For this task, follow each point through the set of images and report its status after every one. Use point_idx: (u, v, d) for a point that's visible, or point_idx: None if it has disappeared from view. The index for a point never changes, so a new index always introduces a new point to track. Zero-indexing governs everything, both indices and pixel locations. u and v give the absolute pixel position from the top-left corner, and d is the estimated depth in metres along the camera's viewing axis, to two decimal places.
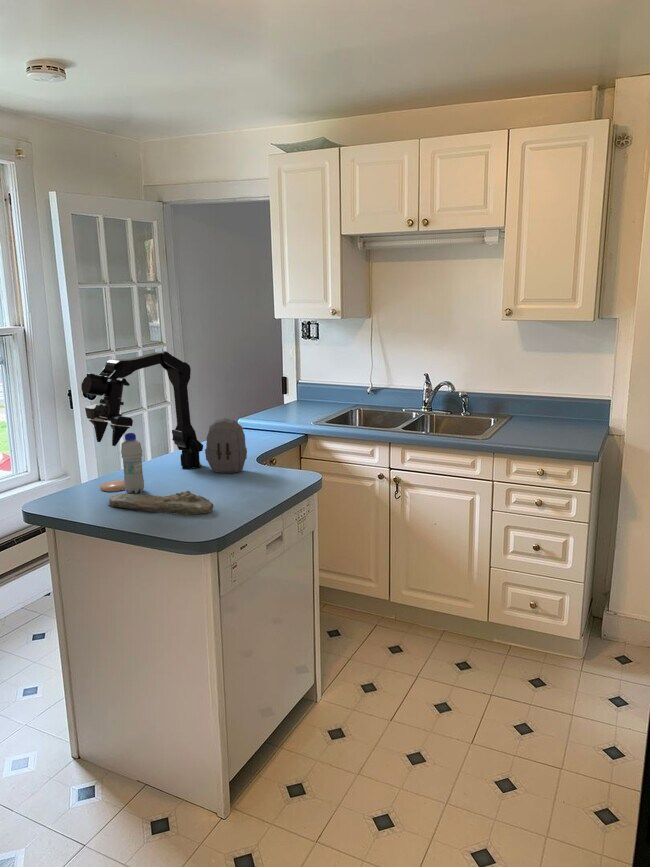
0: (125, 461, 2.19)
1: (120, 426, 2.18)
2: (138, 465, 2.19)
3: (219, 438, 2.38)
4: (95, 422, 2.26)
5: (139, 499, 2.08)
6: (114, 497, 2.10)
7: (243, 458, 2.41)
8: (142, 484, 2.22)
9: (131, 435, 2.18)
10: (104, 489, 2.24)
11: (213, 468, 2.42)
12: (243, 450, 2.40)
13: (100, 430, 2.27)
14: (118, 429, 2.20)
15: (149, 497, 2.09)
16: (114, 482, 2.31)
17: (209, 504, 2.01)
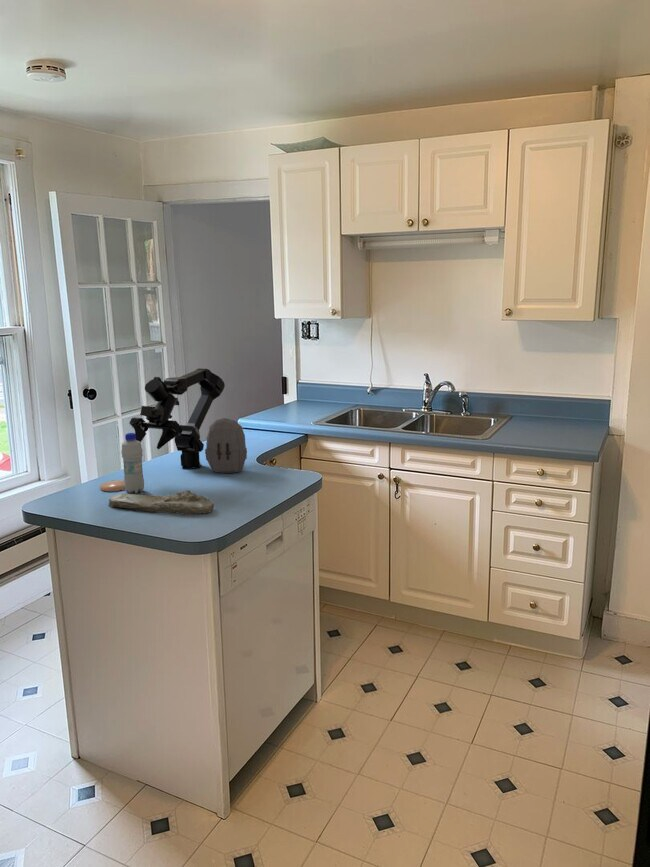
0: (125, 461, 2.19)
1: (172, 430, 2.27)
2: (138, 465, 2.19)
3: (219, 438, 2.38)
4: (138, 427, 2.31)
5: (139, 499, 2.08)
6: (114, 497, 2.10)
7: (243, 458, 2.41)
8: (142, 484, 2.22)
9: (131, 435, 2.18)
10: (104, 489, 2.24)
11: (213, 468, 2.42)
12: (243, 450, 2.40)
13: (139, 437, 2.31)
14: (166, 434, 2.28)
15: (149, 497, 2.09)
16: (114, 482, 2.31)
17: (210, 504, 2.02)
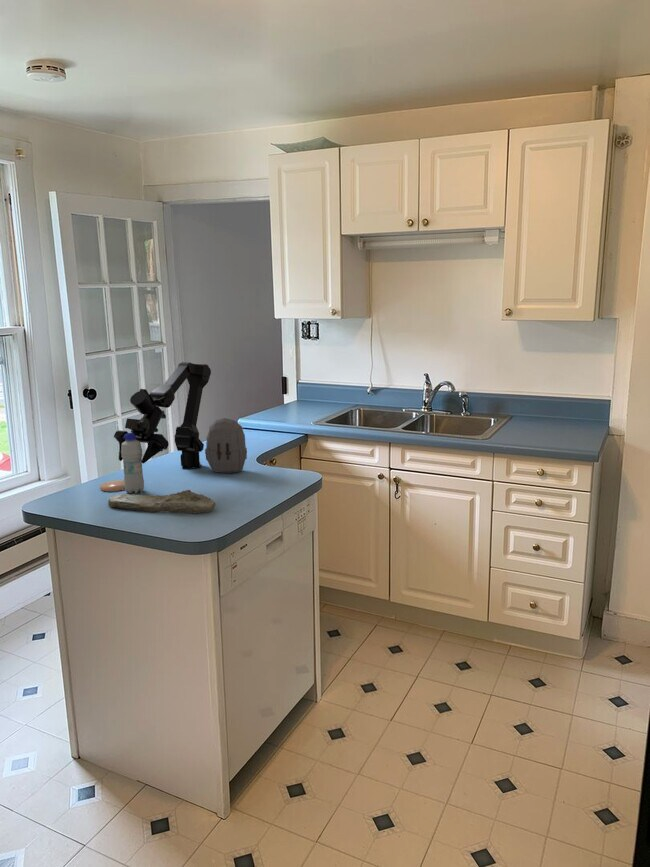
0: (125, 461, 2.19)
1: (158, 444, 2.20)
2: (138, 465, 2.19)
3: (219, 438, 2.38)
4: (123, 440, 2.24)
5: (139, 499, 2.08)
6: (113, 498, 2.09)
7: (243, 458, 2.41)
8: (142, 484, 2.22)
9: (131, 435, 2.18)
10: (104, 489, 2.24)
11: (213, 468, 2.42)
12: (243, 450, 2.40)
13: None
14: (152, 448, 2.21)
15: (149, 497, 2.09)
16: (114, 482, 2.31)
17: (211, 502, 2.03)
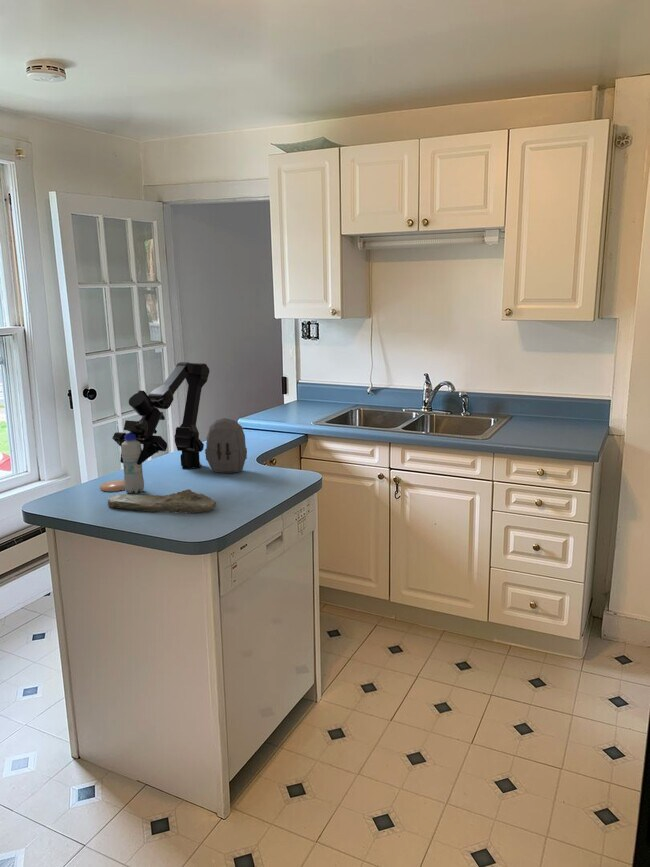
0: (125, 461, 2.19)
1: (153, 446, 2.20)
2: (138, 465, 2.19)
3: (219, 438, 2.38)
4: None
5: (139, 499, 2.08)
6: (113, 498, 2.09)
7: (243, 458, 2.41)
8: (142, 484, 2.22)
9: (131, 435, 2.18)
10: (104, 489, 2.24)
11: (213, 468, 2.42)
12: (243, 450, 2.40)
13: None
14: (147, 450, 2.21)
15: (149, 497, 2.09)
16: (114, 482, 2.31)
17: (212, 502, 2.03)
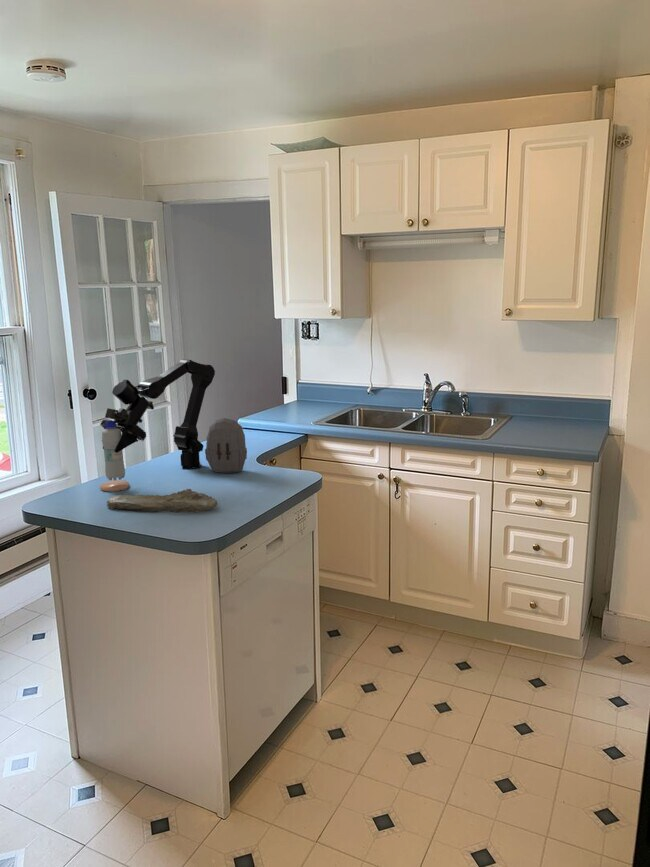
0: (104, 448, 2.23)
1: (131, 434, 2.22)
2: None
3: (219, 438, 2.38)
4: None
5: (139, 499, 2.07)
6: (112, 499, 2.08)
7: (243, 458, 2.41)
8: (121, 472, 2.25)
9: (110, 423, 2.21)
10: (104, 489, 2.24)
11: (213, 468, 2.42)
12: (243, 450, 2.40)
13: None
14: (127, 438, 2.23)
15: (149, 497, 2.09)
16: (114, 482, 2.31)
17: (214, 501, 2.04)
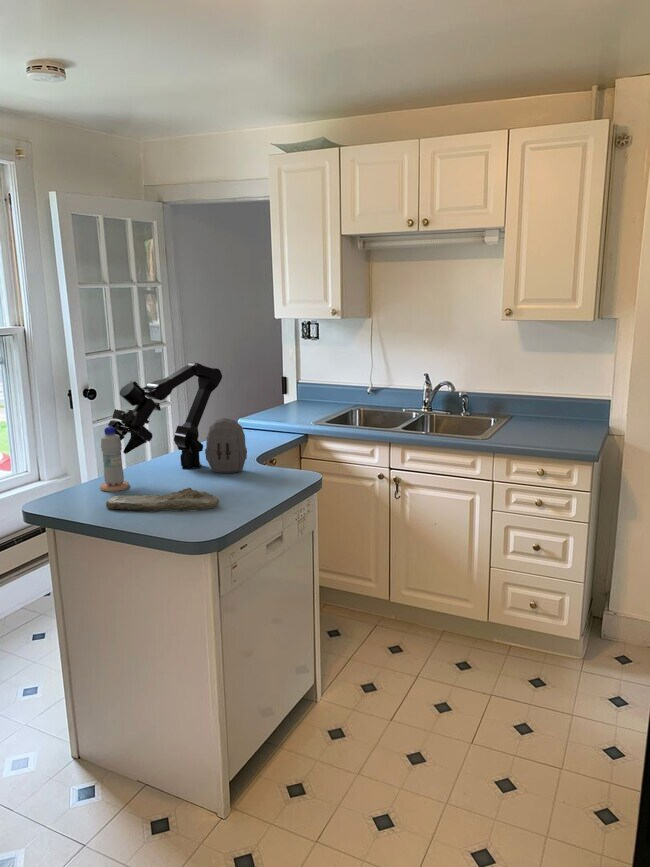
0: (103, 454, 2.24)
1: (139, 436, 2.24)
2: (115, 458, 2.24)
3: (219, 438, 2.38)
4: None
5: (139, 499, 2.07)
6: (112, 499, 2.07)
7: (243, 458, 2.41)
8: (120, 478, 2.26)
9: (109, 429, 2.23)
10: (104, 489, 2.24)
11: (213, 468, 2.42)
12: (243, 450, 2.40)
13: None
14: (135, 439, 2.26)
15: (149, 497, 2.09)
16: None
17: (215, 499, 2.06)
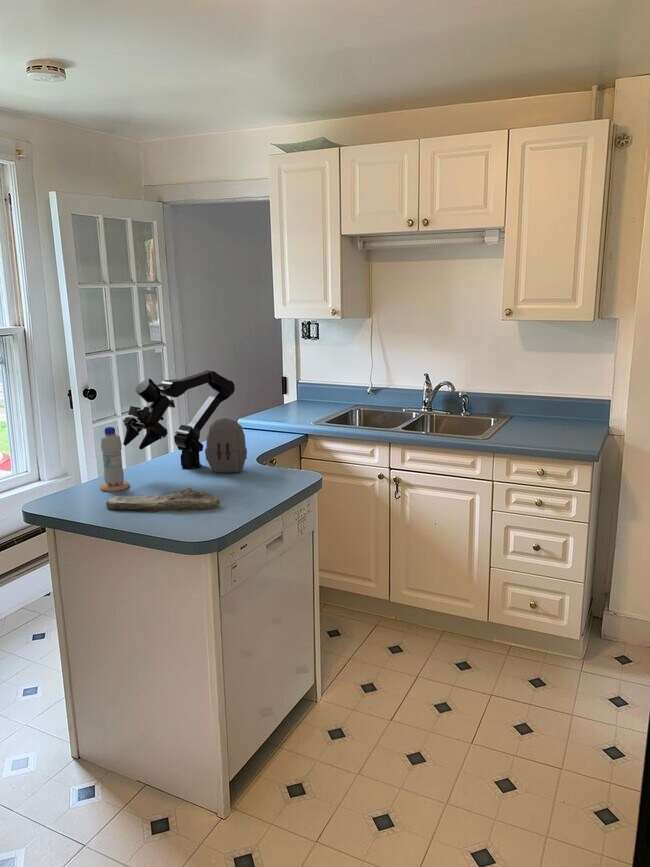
0: (103, 454, 2.24)
1: (155, 432, 2.29)
2: (115, 458, 2.24)
3: (219, 438, 2.38)
4: (130, 426, 2.36)
5: (140, 500, 2.07)
6: (112, 500, 2.07)
7: (243, 458, 2.41)
8: (120, 478, 2.26)
9: (109, 429, 2.22)
10: (104, 489, 2.24)
11: (213, 468, 2.42)
12: (243, 450, 2.40)
13: (130, 436, 2.36)
14: (151, 435, 2.30)
15: (149, 497, 2.09)
16: None
17: (216, 499, 2.06)
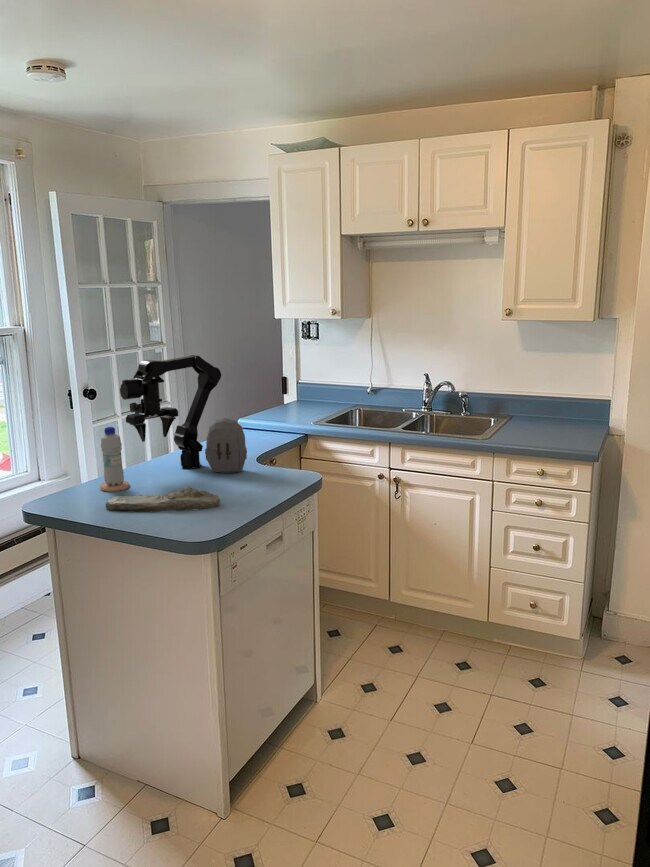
0: (103, 454, 2.24)
1: (132, 423, 2.34)
2: (115, 458, 2.24)
3: (219, 438, 2.38)
4: (161, 418, 2.44)
5: (140, 500, 2.07)
6: (111, 500, 2.07)
7: (243, 458, 2.41)
8: (120, 478, 2.26)
9: (109, 429, 2.23)
10: (104, 489, 2.24)
11: (213, 468, 2.42)
12: (243, 450, 2.40)
13: (164, 426, 2.43)
14: (139, 426, 2.35)
15: (149, 497, 2.09)
16: None
17: (217, 497, 2.08)
